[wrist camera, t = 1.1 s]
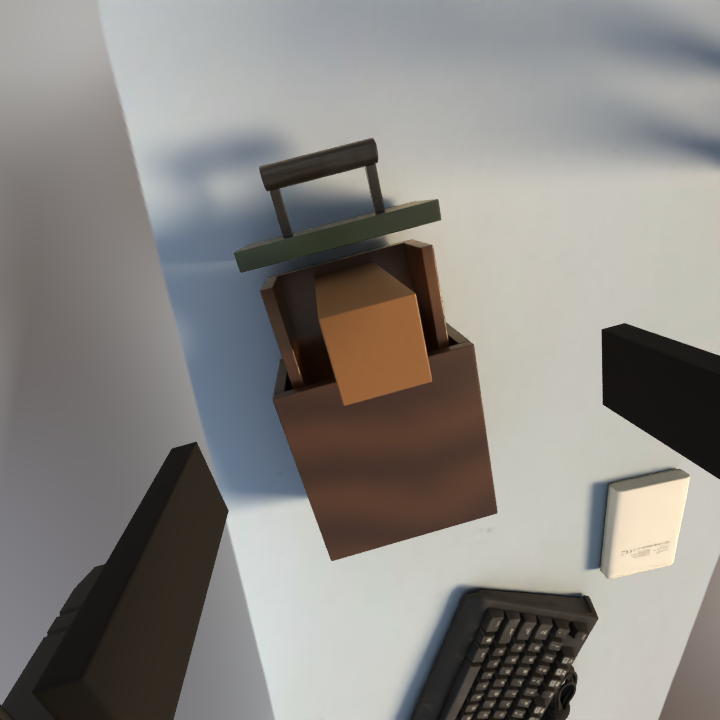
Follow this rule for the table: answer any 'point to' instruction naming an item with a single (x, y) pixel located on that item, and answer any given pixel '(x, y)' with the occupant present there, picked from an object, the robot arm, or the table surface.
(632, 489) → the hard drive
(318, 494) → the cabinet
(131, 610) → the robot arm
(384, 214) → the drawer
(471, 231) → the table surface
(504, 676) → the keyboard
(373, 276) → the block
